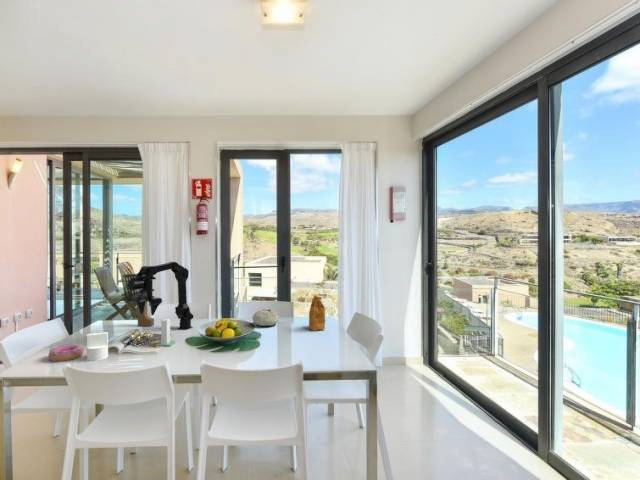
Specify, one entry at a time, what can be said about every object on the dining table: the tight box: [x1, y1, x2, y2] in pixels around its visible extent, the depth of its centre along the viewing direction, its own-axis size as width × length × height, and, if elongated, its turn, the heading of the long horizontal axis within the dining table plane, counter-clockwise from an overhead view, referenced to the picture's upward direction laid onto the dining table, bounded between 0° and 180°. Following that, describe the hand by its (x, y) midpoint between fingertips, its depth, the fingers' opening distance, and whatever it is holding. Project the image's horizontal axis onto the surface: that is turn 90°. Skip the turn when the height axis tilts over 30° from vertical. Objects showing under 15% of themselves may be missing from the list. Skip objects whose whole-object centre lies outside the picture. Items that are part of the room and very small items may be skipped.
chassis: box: [129, 331, 157, 345], centre depth 204 cm, size 12×12×4 cm
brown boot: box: [137, 301, 155, 327], centre depth 239 cm, size 9×4×18 cm, turn 92°
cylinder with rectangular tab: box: [86, 331, 109, 362], centre depth 178 cm, size 9×9×12 cm
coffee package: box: [308, 294, 326, 332], centre depth 234 cm, size 10×12×22 cm
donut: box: [48, 343, 84, 362], centre depth 178 cm, size 14×14×5 cm
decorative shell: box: [252, 308, 280, 327], centre depth 243 cm, size 18×18×10 cm
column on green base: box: [155, 318, 176, 348], centre depth 199 cm, size 8×8×14 cm
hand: (147, 314), depth 208 cm, fingers open, 9 cm apart
